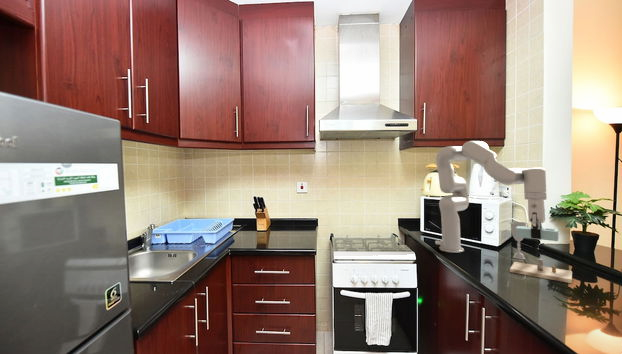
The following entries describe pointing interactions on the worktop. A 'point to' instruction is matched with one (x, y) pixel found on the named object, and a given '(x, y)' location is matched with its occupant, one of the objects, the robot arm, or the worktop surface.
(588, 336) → the worktop surface
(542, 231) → the flange bar
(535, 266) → the post board
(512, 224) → the chalice
